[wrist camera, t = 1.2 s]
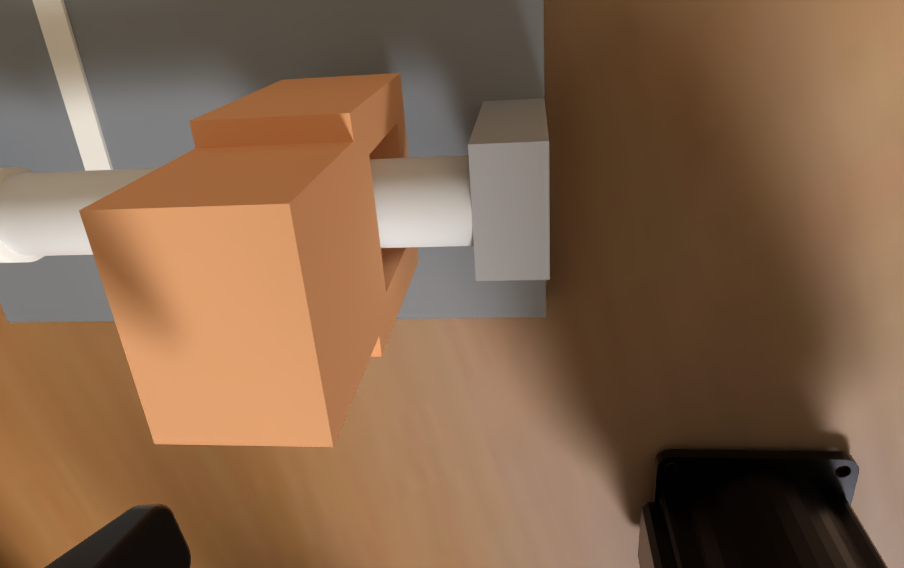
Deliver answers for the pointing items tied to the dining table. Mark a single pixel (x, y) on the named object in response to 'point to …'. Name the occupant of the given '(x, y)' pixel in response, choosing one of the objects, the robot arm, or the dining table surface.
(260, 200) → the collar
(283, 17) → the rail stand
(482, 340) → the dining table surface
